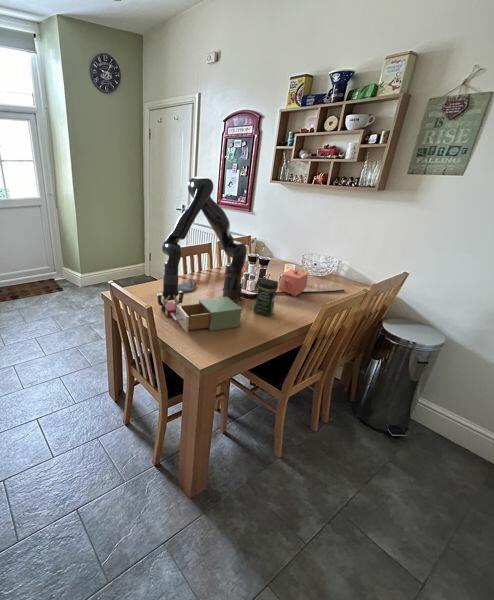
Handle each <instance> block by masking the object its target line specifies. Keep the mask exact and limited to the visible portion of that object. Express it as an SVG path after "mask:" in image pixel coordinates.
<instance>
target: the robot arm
mask: <svg viewBox="0 0 494 600" xmlns="http://www.w3.org/2000/svg"><path fill="white" fill-rule="evenodd" d="M187 191H188V192H189V195H190V196H191V197H192V198H193V199H192V200H191V202H190V204H189V205H188V206H187V208H186V209H185V210H184V211H183V212H182V213H181V214H180V216H179V217H178V219H177V220H176V223H175V225H174V226H173V229H172V231H171V232H170V233H169V235H168V236H167V237H166V239H165V240H164V242H163V244H162V247H161V250H162V253H163V254H164V255H166V256H168V260H165V262H164V264H163V277H162V278H163V279H162V293H161V292H160V293H159V292H158V293H156V297H157V304H158V305H159V306H160V307H161V311H162V313H164V312H165V304H166V303H167V302H170V301H173V302H174V304H175V306H176V305H180V304H182V303H183V300H184V295H185V294H184V293H185V292H182V291H180V292H178V285H179V264H180V262H181V259H182V254H183V251H182V250H183V249H182V246H181V245H180V244H179V242H180V241H184V240H185V239H186V237H187V235H188V233H189V231H190V229H191V227H192V226H193V223H194V221H195V220H196V218H197V216H198V215H199V214H200V212H202V213H203V216H204V217H205V218H206V220H207V222H208V224H209V226H210V227H211V229H212V230H213V232H214V234H215V235H216V237H217V239H218V241H219V242H220V244H221V246H222V250H223V251H224V254H225V255H226V256H228V258H231V262H228V263H226V264H225V272H224V279H223V288H222V297H228V298H229V299H230V300H232V301H233V302H238V301H239V300H241V298H242V297H243V296H245V297H246V298H253V297H257V295H258V293H254V294H251V295H248V294H247V293H246V292H243V291H242V288H243V283H242V277H243V269H244V267H245V264H246V259H247V254H248V248H247V245H246V244H245V243H243V242H241V241H238V240H236V239H235V238H234V236H233V235H232V234H231V231H230V230H231V229H230V227H231V222H230V219H229V218H228V216H227V213H225V211H224V209H223V208H222V207H221V206H220V205H219V204H218V203H217V202H216V201H215V200H214V199H213V198H212V197H211V195H212V193H213V191H214V182H213V181H212V179H211V178H209V177H205V176H194V177H191V178H190V179H189V180H188V184H187ZM339 292H345V289H337V290H315V291H313V290H312V291H310V290H309V291H303V292H301V293H300V294H323V293H324V294H325V293H339ZM277 294H279V295H280V294H288V293H287V292H281V291H276V293H275V295H277ZM177 296H178V298H177Z"/></svg>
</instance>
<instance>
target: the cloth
mask: <svg viewBox="0 0 494 600" xmlns="http://www.w3.org/2000/svg"><path fill="white" fill-rule="evenodd" d="M195 288H196V287H195V279H192V280H190V279H188V280H185V281H183V282H181V283H178V292H180V291H182V292H183V293H185V292H186V293H187V292H191V291H194V289H195Z"/></svg>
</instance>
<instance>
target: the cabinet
mask: <svg viewBox="0 0 494 600" xmlns="http://www.w3.org/2000/svg"><path fill="white" fill-rule="evenodd" d="M198 303H201V304H202V305H203V306H204V307H205V308H206V309H207V310H208V311H209V312H210V313H211V318H210V327H207V328H206V329H207V330H209V331H219V330H223V329H224V330H225V329H230V328H231V329H233V328H239V327H240V326H241V325H240V324H241V317H242V310H243V309H242V307H240V306H239V305H238V304H236V303H235V301H232V300H230V299H229V298H228V297H214V298H204V299H203V298H202V299H198Z"/></svg>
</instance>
